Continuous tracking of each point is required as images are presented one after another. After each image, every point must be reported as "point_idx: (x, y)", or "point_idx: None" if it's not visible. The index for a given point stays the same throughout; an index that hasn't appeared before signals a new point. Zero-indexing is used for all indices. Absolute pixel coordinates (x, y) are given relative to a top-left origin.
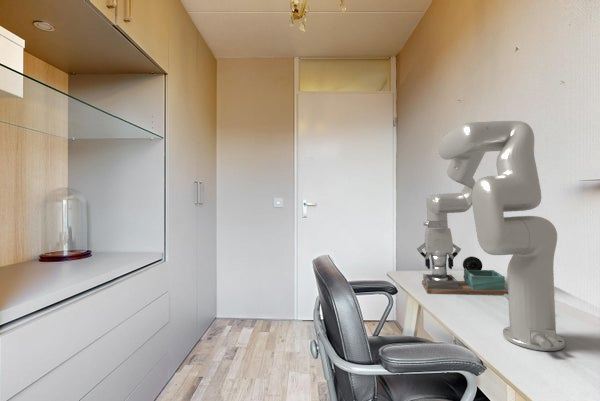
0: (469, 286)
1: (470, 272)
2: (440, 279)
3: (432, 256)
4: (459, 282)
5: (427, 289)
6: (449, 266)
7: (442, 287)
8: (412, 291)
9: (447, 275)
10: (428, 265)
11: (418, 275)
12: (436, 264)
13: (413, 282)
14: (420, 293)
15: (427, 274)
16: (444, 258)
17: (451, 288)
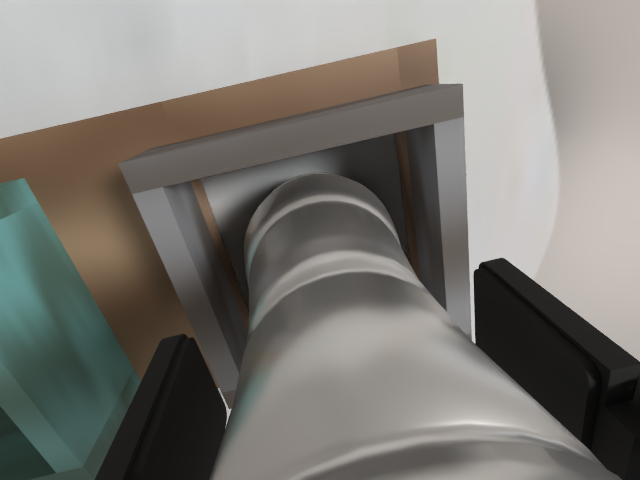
0: (76, 270)
1: (39, 459)
2: (317, 195)
3: (595, 459)
4: None
5: (433, 48)
6: (197, 381)
7: (294, 117)
8: (538, 81)
9: None
10: (531, 282)
11: None
12: (409, 298)
13: None
14: (480, 32)
15: None
16: (243, 443)
17: (211, 133)
